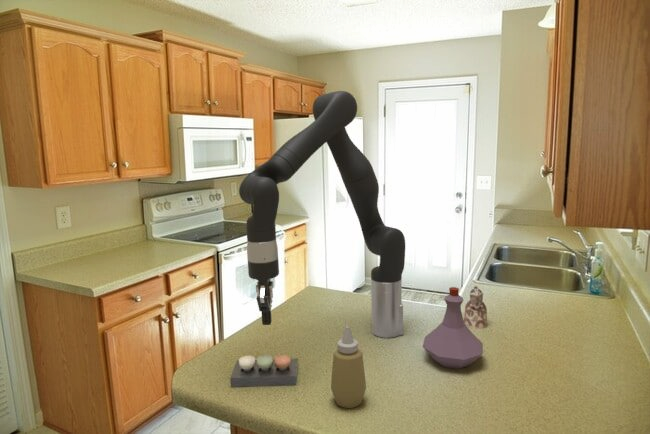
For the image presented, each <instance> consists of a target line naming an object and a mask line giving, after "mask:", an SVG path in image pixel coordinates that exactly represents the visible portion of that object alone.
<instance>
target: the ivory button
mask: <svg viewBox="0 0 650 434" xmlns="http://www.w3.org/2000/svg"><path fill="white" fill-rule="evenodd" d="M238 360H239V367H240V368H242V369H243V372H244V371H252V368H253V367H254V366H255V360H256V358H255V356H253V355H244V356H241V357H240V358H239V359H238Z"/></svg>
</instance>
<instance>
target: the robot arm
mask: <svg viewBox="0 0 650 434" xmlns="http://www.w3.org/2000/svg"><path fill="white" fill-rule="evenodd" d="M356 100H357V99H356V98H355V97H354V95H353V94H352V93H350V92H348V91H344V90H338V91H333V92H328V93H324V94H321V95H318V96H317V97H315V99H314V101H313V105H312V114H313V115H312V116H313V118H314V121H313V122H312V123H310V124H309V125H308V126H307V127H305V128H303V130H301V131H299V132H298V133H297V134H295V135H293V136H292V137H291V138H289V139H288V140H287V141H286V142H284V144H282V145H281V146H280V147H279V148H278V149H277V150H276V151H275V152H274V153H273V154H272V156H270V158H269V159H268V160H266V162H264V163H262V164H260V166H258V167H257V168H255V169H254V170H252V171H251V172H250V173H249V174H248V175H246V176H245V177H244V179H243V180H242V181H241V183H240V185H239V189H238V193H239V198H240V199H241V201H242V202H244V203H246V204H248V205H251V206H252V215H251V216H249V217H248V218H247V220H246V223H245V224H246V228H245V229H246V242H247V245H246V253H247V254H246V257H247V271H248V277H249V278H250V279H252V280H256V281H257V282H256V284H255V292H256V294H257V296H256V301H257V302H256V303H257V308H258V310H259V312H261V322H262V323H261V324H262V325H263V326H269V325H271V324H272V321H273V320H272V307H273V305H272V303H273V297H274V291H273V288H274V281H273V280H271V279H274V278H276V277H278V276H279V275H280V269H279V268H280V265H279V249H278V243H277V233H276V232H277V231H276V219H277V215H278V209H279V202H280V192H279V187H278V184H280V183H284V182H287V181H290V179H291V178H292V177H294V175H295V174H296V173H297V172H298V171H299V170H300V168H302V167H303V166H304V164H305V163H306V162H307V161H308V160H309V159H310V158H311V157H312V156H313V155H314V154H315V153H317V151H318V150H320V149H321V147H322V146H323V145H325V144H327V146H328V148H329V151H330V152H331V155H332V157H333V160H334V162H335V164H336V167H337V169H338V172H339V175H340V177H341V180H342V181H343V186H344V187H345V190H346V192H347V193H348V194H347V195H348V196H349V199H350V201H351V204H352V207H353V209H354V212H355V215H356V216H357V219H358V222H359V226H360V228H361V234H362V236H363V239H364V243H365V246H366V247H367V250H368V251H370V253H372V254H374V255H376V256H379V266H378V265H377V266H375V267H372V269H371V270H370V271H371V272H370V285H371V286H370V292H371V293H370V295H371V296H370V297H371V299H370V300H371V302H370V303H371V305H370V306H371V324H370V325H371V326H370V327H371V333H372V334H373V335H374V336H376V337H379V338H385V339H387V338H388V339H389V338H396V337H399V336H403V335H404V305H403V303H402V302H403V301H402V298H403V297H402V289H403V288H402V287H403V286H402V284H403V283H402V281H403V280H402V277H403V276H402V275H403V273H404V270H405V263H406V262H405V259H406V239H405V234H404V233H403V231H402V230H401V229H398V228H396V227H392V226H387V225H385V223H384V221H383V219H382V216H381V214H380V211H379V207H378V201H379V194H380V193H379V192H380V190H379V188H380V187H379V182H378V181H379V180H378V179H377V176H376V173H375V170H374V168H373V165H372V164H371V162H370V160H369V159H368V158H367V157H366V156H365V154H364V153H363V152H362V151H361V150H360V149H359V148H358V146H357V145H355V143H354V142H353V141H352V140H351V138H350V136H349V134H348V131H347V129H346V127H348V125H350V124H351V123H352V122H353V121H354V120H355V118H356V116H357V113H358V104H357V101H356Z"/></svg>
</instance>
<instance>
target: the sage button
mask: <svg viewBox="0 0 650 434" xmlns="http://www.w3.org/2000/svg"><path fill="white" fill-rule="evenodd" d="M273 359H274V357H273V356H272V355H268V354H263V355H259V356H258V357H257V358H256V360H257V367H259V368H261V371H270V367H271V366H272V365H273Z"/></svg>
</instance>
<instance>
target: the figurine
mask: <svg viewBox="0 0 650 434" xmlns="http://www.w3.org/2000/svg"><path fill="white" fill-rule="evenodd" d="M483 296H484V293H483V291H482V290H481V288H478V286H477V285H474V286H473V288H472V289H471V290H470V291H469V300H468V301H467V303H466V304H465V306H464V307H465V308H464V315H463V321H464V324H465V325H466V326H467V327H468V328H470V329H474V330H478V329H485V328H487V325H488V310H487V305H486V304H485V302H484V297H483Z"/></svg>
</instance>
